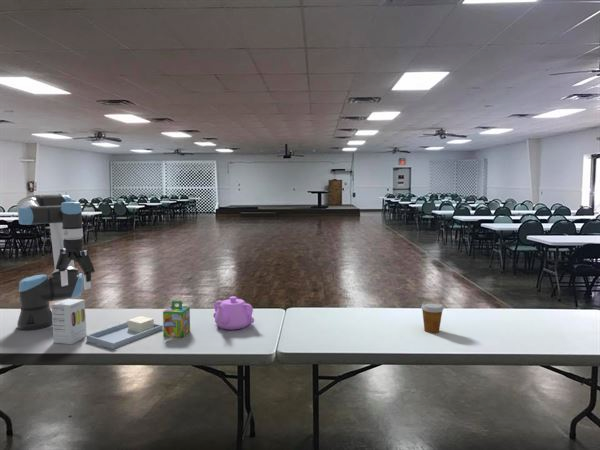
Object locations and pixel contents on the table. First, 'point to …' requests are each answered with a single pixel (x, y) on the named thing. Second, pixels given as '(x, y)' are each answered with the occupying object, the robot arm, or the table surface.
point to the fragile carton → (140, 324)
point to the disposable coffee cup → (432, 316)
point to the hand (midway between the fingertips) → (76, 287)
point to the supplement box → (68, 321)
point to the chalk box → (176, 320)
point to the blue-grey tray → (119, 335)
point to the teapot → (233, 313)
